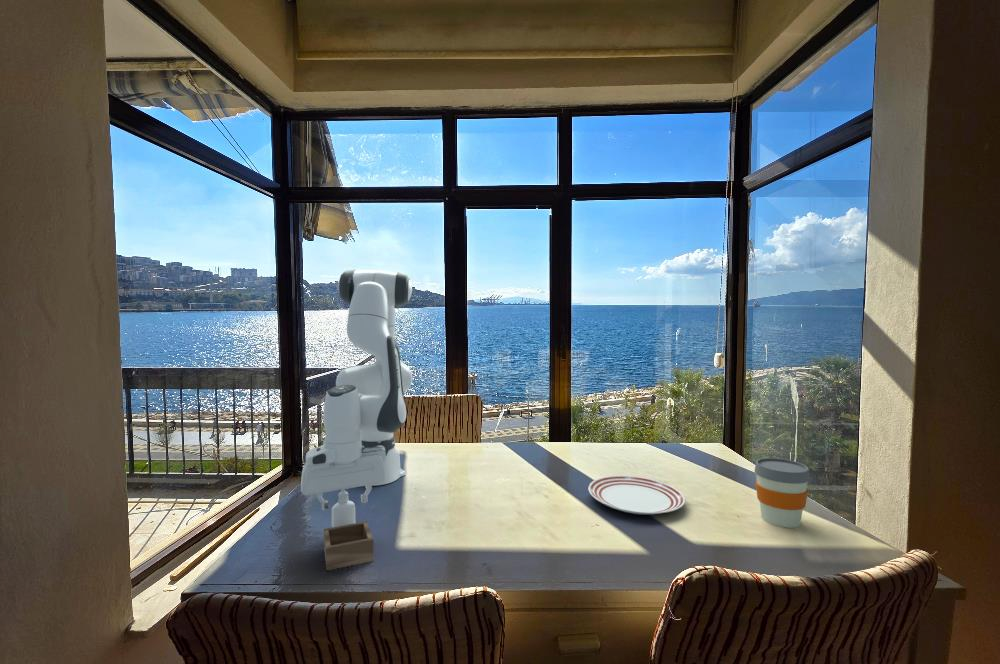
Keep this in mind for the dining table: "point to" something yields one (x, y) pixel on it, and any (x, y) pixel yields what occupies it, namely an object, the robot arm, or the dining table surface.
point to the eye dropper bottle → (343, 511)
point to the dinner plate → (636, 494)
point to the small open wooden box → (348, 545)
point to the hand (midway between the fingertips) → (345, 505)
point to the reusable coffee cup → (781, 490)
